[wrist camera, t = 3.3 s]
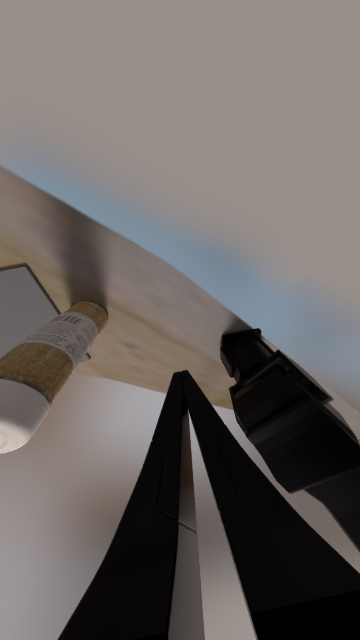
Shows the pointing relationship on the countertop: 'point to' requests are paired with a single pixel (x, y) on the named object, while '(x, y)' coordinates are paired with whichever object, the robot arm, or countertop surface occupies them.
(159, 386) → the countertop surface
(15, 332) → the mat
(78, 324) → the sprinkles bottle
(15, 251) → the countertop surface
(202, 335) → the countertop surface
